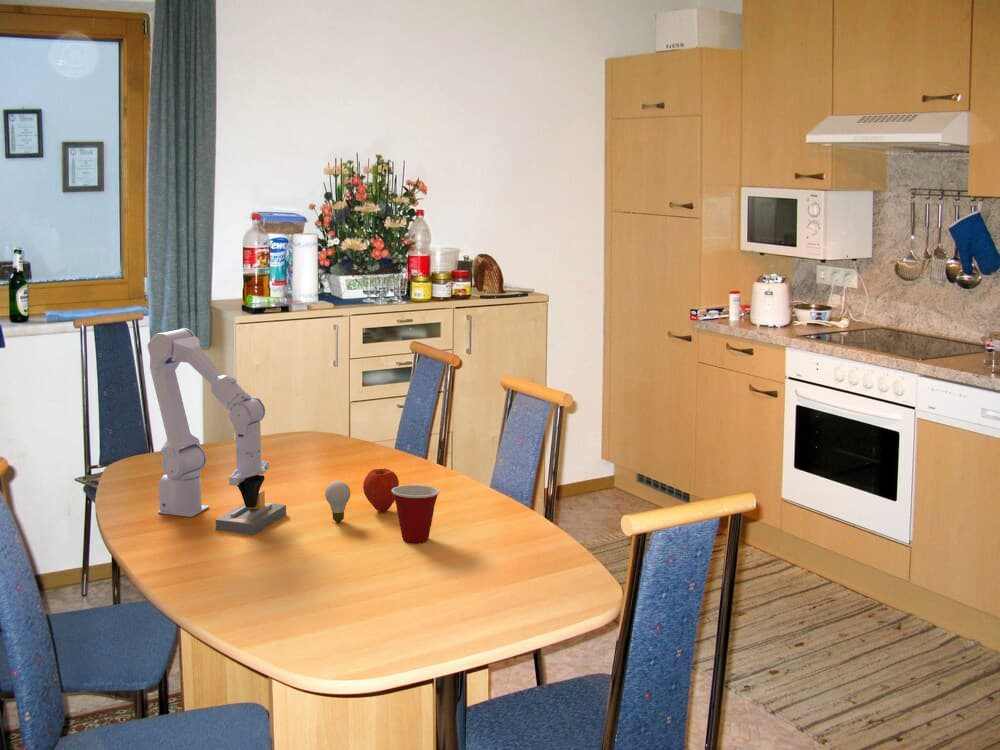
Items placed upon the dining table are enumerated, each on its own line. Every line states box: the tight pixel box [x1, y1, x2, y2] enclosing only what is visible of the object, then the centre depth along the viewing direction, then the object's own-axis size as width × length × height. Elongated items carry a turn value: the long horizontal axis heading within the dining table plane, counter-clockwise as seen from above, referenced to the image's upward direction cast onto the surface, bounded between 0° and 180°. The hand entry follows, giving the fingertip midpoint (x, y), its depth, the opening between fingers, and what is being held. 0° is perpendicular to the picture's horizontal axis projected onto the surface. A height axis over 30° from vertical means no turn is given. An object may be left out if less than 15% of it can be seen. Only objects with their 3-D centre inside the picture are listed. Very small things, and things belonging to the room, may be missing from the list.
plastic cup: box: [391, 484, 441, 545], centre depth 251 cm, size 11×11×12 cm
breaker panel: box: [215, 502, 287, 536], centre depth 262 cm, size 10×15×3 cm, turn 162°
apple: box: [362, 468, 400, 513], centre depth 270 cm, size 9×8×11 cm
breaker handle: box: [248, 489, 266, 509], centre depth 263 cm, size 3×2×4 cm
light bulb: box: [324, 480, 351, 523], centre depth 262 cm, size 6×6×10 cm
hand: (250, 506), depth 261 cm, fingers closed
